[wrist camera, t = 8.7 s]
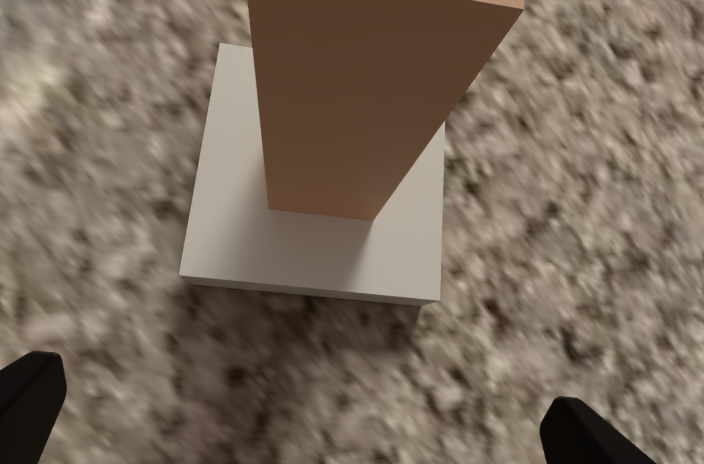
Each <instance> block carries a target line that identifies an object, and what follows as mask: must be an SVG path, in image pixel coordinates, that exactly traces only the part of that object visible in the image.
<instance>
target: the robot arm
mask: <svg viewBox="0 0 704 464" xmlns="http://www.w3.org/2000/svg"><path fill="white" fill-rule="evenodd" d="M66 392H67V384H66V379H65V373H64V367H63V362H62V358H61V356H60V355H59V354H58V353H55V352H43V351H32V352H30V353H28V354H26V355H24V356H22V357H21V358H19V359H18V360H16V361H14V362H13V363H11V364H9V365H8V366H6V367H4V368H3V369H1V370H0V464H38V462H39V459H40V457H41V454H42V452H43V450H44V447H45V445H46V443H47V440H48V438H49V436H50V433H51V431H52V429H53V426H54V424H55V422H56V419H57V417H58V414H59V412H60V410H61V407H62V405H63V403H64V400H65V397H66ZM540 438H541V442H542V446H543V450H544V454H545V458H546V462H547V464H656V463H655V462H654V461H653V460H652V459H651V458H649V457H648V456H647V455H646V454H645V453H643V452H642V451H641V450H640V449H639V448H638V447H636V446H635V445H634V444H633V443H632V442H630V441H629V440H628V439H627V438H626V437H625V436H623V435H622V434H621V433H620V432H619V431H617V430H616V429H615V428H614V427H613V426H612V425H610V424H609V423H608V422H607V421H606V420H604V419H603V418H602V417H601V416H600V415H598V414H597V413H596V412H595V411H594V410H593V409H591V408H590V407H589V406H588V405H587V404H585V403H584V402H583V401H582V400H580V399H578V398H574V397H563V396H559V397H557V398H555V399H554V400H553V402H552V404H551V406H550V407H549V409H548V411H547V413H546V415H545V416H544V418H543V420H542V422H541V424H540Z"/></svg>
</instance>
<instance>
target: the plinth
mask: <svg viewBox="0 0 704 464" xmlns="http://www.w3.org/2000/svg"><path fill="white" fill-rule="evenodd" d="M444 138H445V121H444V123H443V124H442V125H441V127H440V128H439V130H438V131H437V132H436V134H435V135H434V137H433V138H432V139H431V141H430V142H429V144H428V145H427V146H426V148H425V149H424V151H423V152H422V153H421V155H420V156H419V158H418V159H417V160H416V162H415V163H414V165H413V166H412V167H411V169H410V170H409V172H408V173H407V174H406V176H405V177H404V179H403V180H402V181H401V183H400V184H399V186H398V187H397V188H396V190H395V191H394V193H393V194H392V196H391V197H390V198H389V200H388V201H387V203H386V204H385V205H384V207H383V208H382V210H381V211H380V212H379V214H378V215H377V217H376V218H375V219H374V221H371V220H361V219H352V218H343V217H334V216H325V215H316V214H307V213H298V212H289V211H280V210H271V209H269V208H268V198H267V188H266V178H265V168H264V158H263V148H262V138H261V128H260V118H259V108H258V98H257V88H256V78H255V68H254V58H253V48H249V47H243V46H236V45H230V44H224V43H220V46H219V52H218V58H217V63H216V69H215V74H214V80H213V86H212V91H211V97H210V103H209V108H208V114H207V119H206V125H205V131H204V136H203V142H202V148H201V153H200V159H199V164H198V170H197V176H196V181H195V187H194V193H193V198H192V204H191V209H190V215H189V221H188V226H187V232H186V237H185V243H184V249H183V254H182V260H181V266H180V271H179V276H181V277H182V278H184V279H185V280H186V281H188V282H189V283H191V284H194V285H204V286H215V287H225V288H236V289H246V290H257V291H267V292H278V293H288V294H299V295H309V296H319V297H330V298H340V299H351V300H361V301H372V302H382V303H393V304H403V305H414V306H424V305H427V304H431V303H434V302H437V301H440V280H441V244H442V209H443V173H444Z"/></svg>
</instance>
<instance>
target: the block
mask: <svg viewBox="0 0 704 464" xmlns="http://www.w3.org/2000/svg"><path fill="white" fill-rule="evenodd" d="M248 9H249V19H250V29H251V39H252V48H253V58H254V68H255V78H256V88H257V98H258V108H259V118H260V128H261V138H262V148H263V158H264V168H265V178H266V188H267V198H268V208H269V209H271V210H280V211H289V212H298V213H307V214H316V215H325V216H334V217H343V218H352V219H361V220H371V221H374V219H375V218H376V217H377V215H378V214H379V212H380V211H381V210H382V208H383V207H384V205H385V204H386V203H387V201H388V200H389V198H390V197H391V196H392V194H393V193H394V191H395V190H396V188H397V187H398V186H399V184H400V183H401V181H402V180H403V179H404V177H405V176H406V174H407V173H408V172H409V170H410V169H411V167H412V166H413V165H414V163H415V162H416V160H417V159H418V158H419V156H420V155H421V153H422V152H423V151H424V149H425V148H426V146H427V145H428V144H429V142H430V141H431V139H432V138H433V137H434V135H435V134H436V132H437V131H438V130H439V128H440V127H441V125H442V124H443V123H444V121H445V120H446V118H447V117H448V116H449V114H450V113H451V111H452V110H453V108H454V107H455V106H456V104H457V103H458V101H459V100H460V99H461V97H462V96H463V94H464V93H465V92H466V90H467V89H468V87H469V86H470V85H471V83H472V82H473V80H474V79H475V78H476V76H477V75H478V73H479V72H480V71H481V69H482V68H483V66H484V65H485V64H486V62H487V61H488V59H489V58H490V57H491V55H492V54H493V52H494V51H495V50H496V48H497V47H498V45H499V44H500V43H501V41H502V40H503V38H504V37H505V36H506V34H507V33H508V31H509V30H510V28H511V27H512V26H513V24H514V23H515V21H516V20H517V19H518V17H519V16H520V14H521V13H522V12H523V10H524V0H248Z"/></svg>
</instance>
